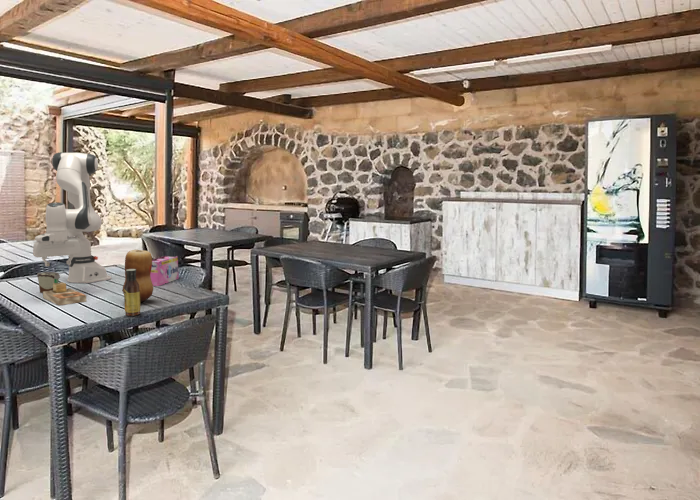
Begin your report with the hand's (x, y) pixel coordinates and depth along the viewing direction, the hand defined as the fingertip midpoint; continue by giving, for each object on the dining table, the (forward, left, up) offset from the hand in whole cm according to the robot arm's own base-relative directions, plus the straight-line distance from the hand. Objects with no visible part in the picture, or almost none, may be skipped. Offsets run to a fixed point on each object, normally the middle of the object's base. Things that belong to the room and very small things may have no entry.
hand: (58, 265), depth 248 cm
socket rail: (0, +6, -16) cm, 17 cm away
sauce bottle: (-11, +54, -16) cm, 57 cm away
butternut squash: (-23, +34, -16) cm, 44 cm away
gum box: (-55, -4, -16) cm, 58 cm away
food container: (-1, -14, -16) cm, 22 cm away
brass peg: (0, 0, -16) cm, 16 cm away
